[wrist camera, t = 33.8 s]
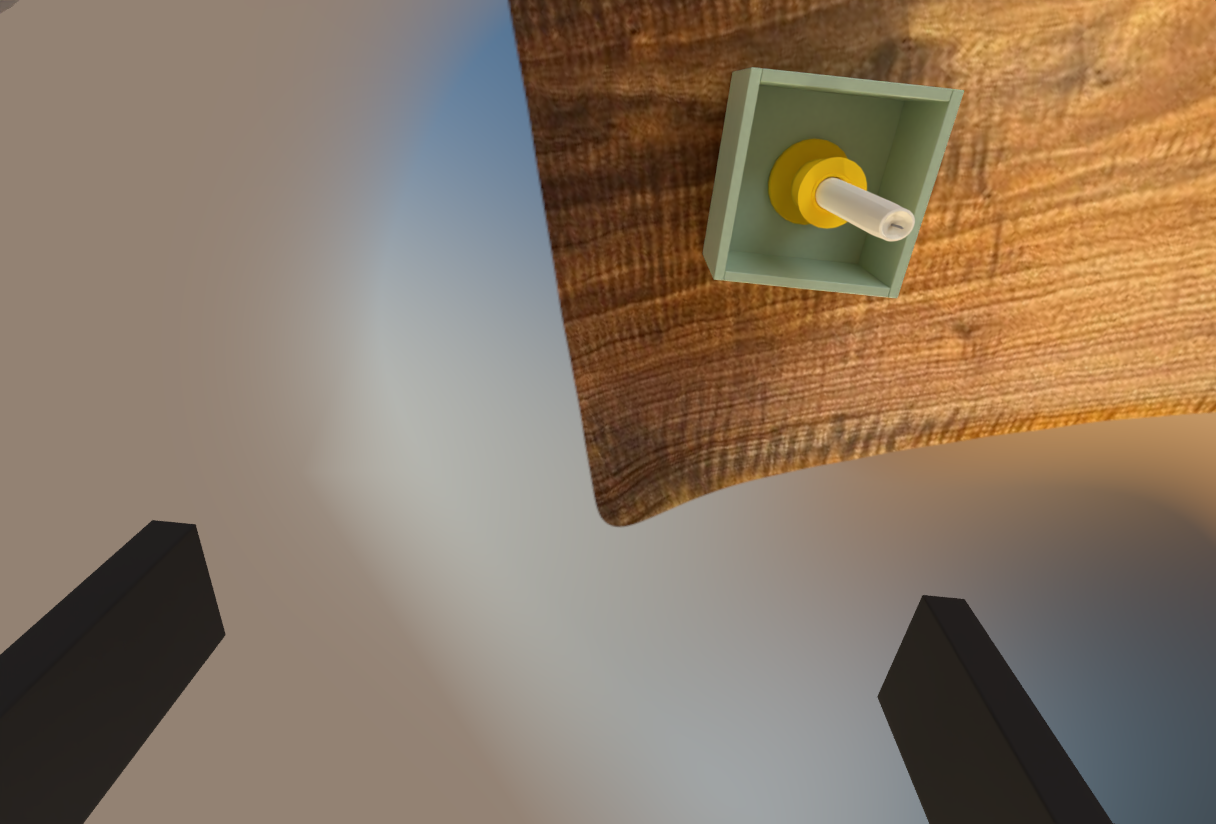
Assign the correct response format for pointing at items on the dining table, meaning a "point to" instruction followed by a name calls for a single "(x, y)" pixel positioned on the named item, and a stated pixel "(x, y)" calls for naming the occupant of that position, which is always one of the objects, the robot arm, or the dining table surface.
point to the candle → (831, 192)
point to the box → (869, 135)
